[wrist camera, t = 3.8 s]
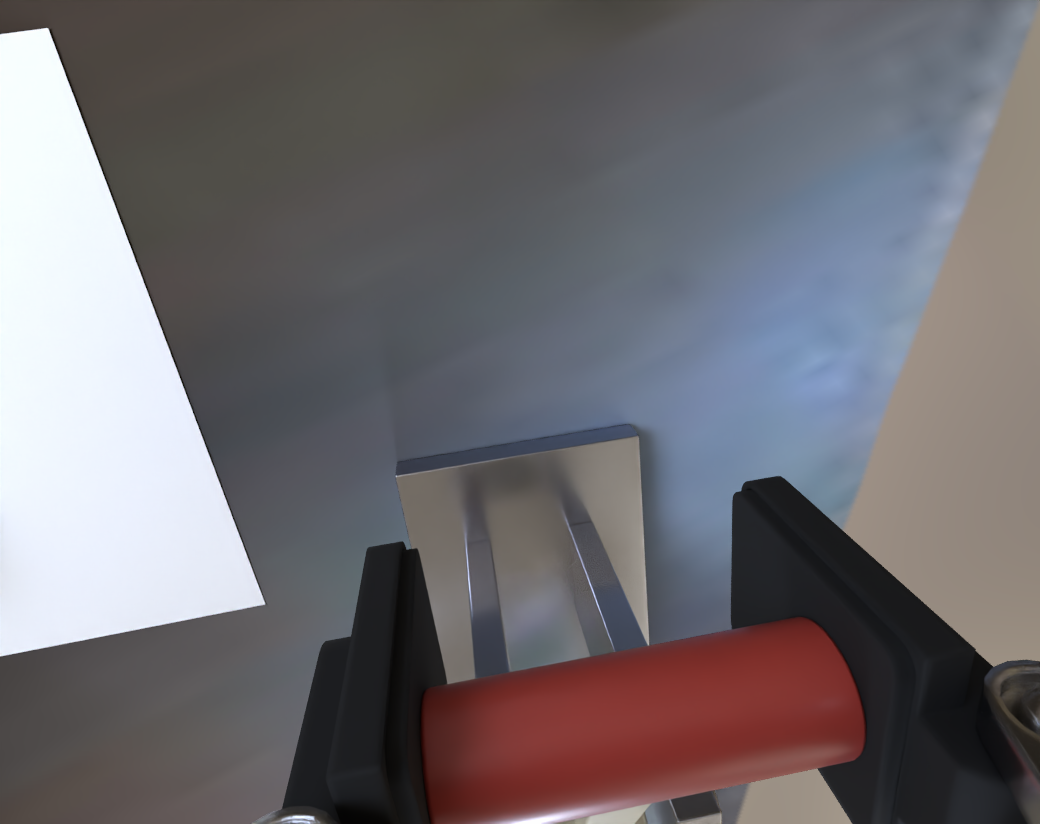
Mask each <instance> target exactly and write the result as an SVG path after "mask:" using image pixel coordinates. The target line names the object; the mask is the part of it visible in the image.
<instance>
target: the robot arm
mask: <svg viewBox="0 0 1040 824" xmlns="http://www.w3.org/2000/svg"><path fill="white" fill-rule="evenodd" d="M795 617H803V618H808V619H810V620H813V621H814V622H816V623H817V624H818V625H820V626H821V627H822V628H823V629H824V630H825V631H826V632H827V633H828V635H829V636H830V637H831V638H832V639H833V641H834V642H835V644H836V645H837V647H838V648H839V650H840V651H841V653H842V655H843V657H844V658H845V660H846V662H847V664H848V666H849V668H850V670H851V673H852V675H853V677H854V680H855V682H856V685H857V688H858V691H859V694H860V697H861V701H862V704H863V709H864V713H865V720H866V743H865V747H864V750H863V752H862V753H861V755H860V756H859V757H858V758H856V759H855V760H853V761H850V762H845V763H840V764H836V765H831V766H826V767H821V768H817V769H818V770H819V772H820V773H821V775H822V776H823V778H824V780H825V781H826V783H827V784H828V786H829V787H830V789H831V791H832V792H833V794H834V795H835V797H836V798H837V800H838V802H839V803H840V805H841V806H842V808H843V809H844V811H845V813H846V814H847V816H848V817H849V819H850V820H851V822H852V824H1040V662H1039V661H1031V660H1018V661H1007V662H1004V663H1002V664H999V665H997V666H995V667H993V666H992V665H990V664H989V663H988V662H987V661H986V660H985V659H984V658H983V657H982V656H981V655H979V654H978V653H977V652H976V651H975V650H976V649H975V648H974V647H972V646H971V645H970V644H969V643H968V642H967V641H965V640H964V639H963V638H962V637H961V636H960V635H959V634H958V633H957V632H956V631H955V630H953V629H952V628H951V627H950V626H949V625H948V624H947V623H945V622H944V621H943V620H942V619H941V618H940V617H939V616H938V615H937V614H935V613H934V612H933V611H932V610H931V609H930V608H929V607H928V606H927V605H925V604H924V603H923V602H922V601H921V600H920V599H919V598H918V597H916V596H915V595H914V594H913V593H912V592H911V591H910V590H909V589H907V588H906V587H905V586H904V585H903V584H902V583H901V582H900V581H898V580H897V579H896V578H895V577H894V576H893V575H892V574H891V573H890V572H888V571H887V570H886V569H885V568H884V567H882V565H881V564H879V563H878V562H877V561H876V560H875V559H874V558H873V557H872V556H870V555H869V554H868V553H867V552H866V551H865V550H864V549H863V548H861V547H860V546H859V545H858V544H857V543H856V542H855V541H853V539H851V538H850V537H849V536H848V535H847V534H846V533H845V532H844V531H842V530H841V529H840V528H839V527H838V526H837V525H836V524H835V523H834V522H832V521H831V520H830V519H829V518H828V517H827V516H826V515H825V514H823V513H822V512H821V511H820V510H819V509H818V508H817V507H816V506H814V505H813V504H812V503H811V502H810V501H809V500H808V499H807V498H806V497H804V496H803V495H802V494H801V493H800V492H799V491H798V490H797V489H795V488H794V487H793V486H792V485H791V484H790V483H789V482H788V481H786V480H785V479H784V478H782V477H781V476H776V477H770V478H764V479H758V480H753V481H747V482H745V483H744V484H743V486H742V491H740V492H736V493H735V494H734V496H733V506H732V575H731V625H732V629H737V628H743V627H748V626H753V625H758V624H763V623H769V622H774V621H779V620H784V619H790V618H795ZM445 684H447V677H446V672H445V668H444V663H443V659H442V654H441V649H440V645H439V640H438V636H437V631H436V627H435V622H434V618H433V613H432V609H431V604H430V599H429V595H428V590H427V586H426V581H425V577H424V572H423V568H422V563H421V558H420V554H419V551H418V549H417V548H415V549H409V550H406V547H405V544H404V542H403V541H402V542H396V543H390V544H385V545H379V546H373V547H369V548H368V549H367V552H366V557H365V563H364V568H363V574H362V579H361V585H360V590H359V596H358V602H357V607H356V613H355V618H354V624H353V629H352V635H351V637H346V638H341V639H335V640H330V641H325V643H324V644H323V645H322V647H321V650H320V653H319V657H318V661H317V665H316V669H315V673H314V678H313V682H312V686H311V690H310V694H309V699H308V703H307V707H306V711H305V715H304V719H303V724H302V728H301V732H300V736H299V740H298V744H297V749H296V753H295V757H294V761H293V765H292V770H291V774H290V778H289V782H288V786H287V790H286V795H285V799H284V803H283V807H282V809H281V810H278V811H275V812H272V813H269V814H267V815H265V816H264V817H262V818H260V819H258V820H257V821H255V822H253V823H252V824H431V823H430V818H429V813H428V807H427V801H426V794H425V786H424V777H423V767H422V754H421V733H420V715H421V702H422V697H423V693H424V691H425V690H426V689H428V688H430V687H435V686H440V685H445Z"/></svg>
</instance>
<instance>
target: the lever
mask: <svg viewBox="0 0 1040 824" xmlns="http://www.w3.org/2000/svg"><path fill="white" fill-rule="evenodd" d="M420 733H421V754H422V767H423V777H424V786H425V794H426V801H427V807H428V813H429V818H430V823H431V824H648V822H647V818H646V814H645V811H646V809H647V808H648V807H649V806H650V804H651V803H655V802H660V801H665V800H670V799H674V798H679V797H684V796H689V795H693V794H698V793H703V792H708V791H712V790H717V789H722V788H727V787H731V786H736V785H741V784H745V783H750V782H755V781H760V780H764V779H769V778H773V777H779V776H783V775H788V774H793V773H798V772H802V771H807V770H812V769H816V768H821V767H826V766H831V765H836V764H840V763H845V762H850V761H853V760H855V759H856V758H858V757H859V756H860V755H861V753H862V752H863V750H864V747H865V743H866V720H865V713H864V709H863V704H862V701H861V697H860V694H859V691H858V688H857V685H856V682H855V680H854V677H853V675H852V673H851V670H850V668H849V666H848V664H847V662H846V660H845V658H844V657H843V655H842V653H841V651H840V650H839V648H838V647H837V645H836V644H835V642H834V641H833V639H832V638H831V637H830V636H829V635H828V633H827V632H826V631H825V630H824V629H823V628H822V627H821V626H820V625H818V624H817V623H816V622H814V621H813V620H810V619H808V618H803V617H795V618H790V619H784V620H779V621H774V622H769V623H763V624H758V625H753V626H748V627H743V628H737V629H732V630H727V631H722V632H717V633H711V634H706V635H701V636H696V637H690V638H685V639H680V640H675V641H670V642H664V643H659V644H654V645H649V646H644V647H638V648H633V649H628V650H623V651H617V652H612V653H607V654H602V655H597V656H591V657H586V658H581V659H576V660H571V661H565V662H560V663H555V664H550V665H544V666H539V667H534V668H529V669H524V670H518V671H513V672H508V673H503V674H498V675H492V676H487V677H482V678H477V679H471V680H466V681H461V682H456V683H451V684H445V685H440V686H435V687H430V688H428V689H426V690H425V691H424V693H423V697H422V702H421V715H420Z"/></svg>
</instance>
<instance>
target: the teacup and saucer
mask: <svg viewBox="0 0 1040 824" xmlns="http://www.w3.org/2000/svg"><path fill="white" fill-rule="evenodd" d="M260 605H265V602H264V599H263V597H262V594H261V591H260V589H259V586H258V583H257V581H256V578H255V576H254V573H253V570H252V568H251V565H250V562H249V560H248V557H247V554H246V552H245V549H244V546H243V544H242V541H241V538H240V536H239V533H238V530H237V528H236V525H235V523H234V520H233V517H232V515H231V512H230V509H229V507H228V504H227V501H226V499H225V496H224V493H223V491H222V488H221V485H220V483H219V480H218V477H217V475H216V472H215V469H214V467H213V464H212V462H211V459H210V456H209V454H208V451H207V448H206V446H205V443H204V440H203V438H202V435H201V432H200V430H199V427H198V424H197V422H196V419H195V416H194V414H193V411H192V409H191V406H190V403H189V401H188V398H187V395H186V393H185V390H184V387H183V385H182V382H181V379H180V377H179V374H178V371H177V369H176V366H175V363H174V361H173V358H172V356H171V353H170V350H169V348H168V345H167V342H166V340H165V337H164V334H163V332H162V329H161V326H160V324H159V321H158V318H157V316H156V313H155V310H154V308H153V305H152V302H151V300H150V297H149V295H148V292H147V289H146V287H145V284H144V281H143V279H142V276H141V273H140V271H139V268H138V265H137V263H136V260H135V257H134V255H133V252H132V249H131V247H130V244H129V242H128V239H127V236H126V234H125V231H124V228H123V226H122V223H121V220H120V218H119V215H118V212H117V210H116V207H115V204H114V202H113V199H112V196H111V194H110V191H109V189H108V186H107V183H106V181H105V178H104V175H103V173H102V170H101V167H100V165H99V162H98V159H97V157H96V154H95V151H94V149H93V146H92V143H91V141H90V138H89V135H88V133H87V130H86V128H85V125H84V122H83V120H82V117H81V114H80V112H79V109H78V106H77V104H76V101H75V98H74V96H73V93H72V90H71V88H70V85H69V82H68V80H67V77H66V75H65V72H64V69H63V67H62V64H61V61H60V59H59V56H58V53H57V51H56V48H55V45H54V43H53V40H52V37H51V35H50V32H49V29H48V28H45V29H37V30H30V31H22V32H15V33H7V34H0V656H5V655H10V654H15V653H20V652H25V651H30V650H35V649H40V648H45V647H50V646H56V645H61V644H66V643H71V642H76V641H81V640H86V639H91V638H96V637H101V636H107V635H112V634H117V633H122V632H127V631H132V630H137V629H142V628H147V627H152V626H158V625H163V624H168V623H173V622H178V621H183V620H188V619H193V618H198V617H204V616H209V615H214V614H219V613H224V612H229V611H234V610H239V609H244V608H249V607H255V606H260Z"/></svg>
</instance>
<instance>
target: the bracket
mask: <svg viewBox="0 0 1040 824" xmlns="http://www.w3.org/2000/svg"><path fill="white" fill-rule="evenodd" d="M395 479H396V483H397V487H398V492H399V496H400V501H401V505H402V510H403V514H404V519H405V523H406V527H407V532H408V536H409V541H410V545H411V549H415V548H417V549H418V551H419V554H420V558H421V563H422V568H423V572H424V577H425V581H426V586H427V590H428V595H429V599H430V604H431V609H432V613H433V618H434V622H435V627H436V631H437V636H438V640H439V645H440V649H441V654H442V659H443V663H444V668H445V672H446V677H447V684H451V683H456V682H461V681H466V680H471V679H477V678H482V677H487V676H492V675H498V674H503V673H508V672H513V671H518V670H524V669H529V668H534V667H539V666H544V665H550V664H555V663H560V662H565V661H571V660H576V659H581V658H586V657H591V656H597V655H602V654H607V653H612V652H617V651H623V650H628V649H633V648H638V647H644V646H649V645H650V642H649V622H648V602H647V582H646V563H645V543H644V523H643V503H642V483H641V463H640V444H639V435H638V434H637V433H636V431H635V430H634V429H633V427H632V426H631V425H630V424H625V425H619V426H613V427H607V428H601V429H595V430H589V431H583V432H577V433H571V434H564V435H558V436H552V437H546V438H540V439H534V440H528V441H522V442H516V443H510V444H504V445H498V446H492V447H485V448H479V449H473V450H467V451H461V452H455V453H449V454H443V455H437V456H431V457H425V458H419V459H412V460H406V461H400V462H397V467H396V474H395ZM645 814H646V818H647V822H648V824H722V811H721V809H720V807H719V803H718V799H717V796H716V793H715V790H712V791H708V792H703V793H698V794H693V795H689V796H684V797H679V798H674V799H670V800H665V801H660V802H655V803H651V804H650V806H649V807H648V808H647V809H646V811H645Z"/></svg>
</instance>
